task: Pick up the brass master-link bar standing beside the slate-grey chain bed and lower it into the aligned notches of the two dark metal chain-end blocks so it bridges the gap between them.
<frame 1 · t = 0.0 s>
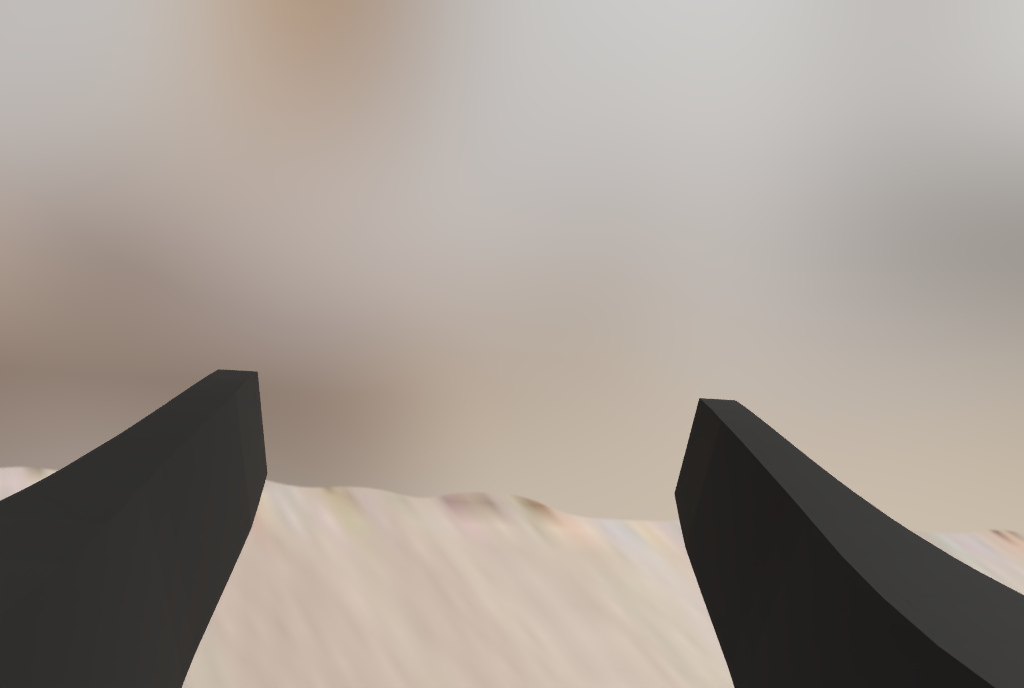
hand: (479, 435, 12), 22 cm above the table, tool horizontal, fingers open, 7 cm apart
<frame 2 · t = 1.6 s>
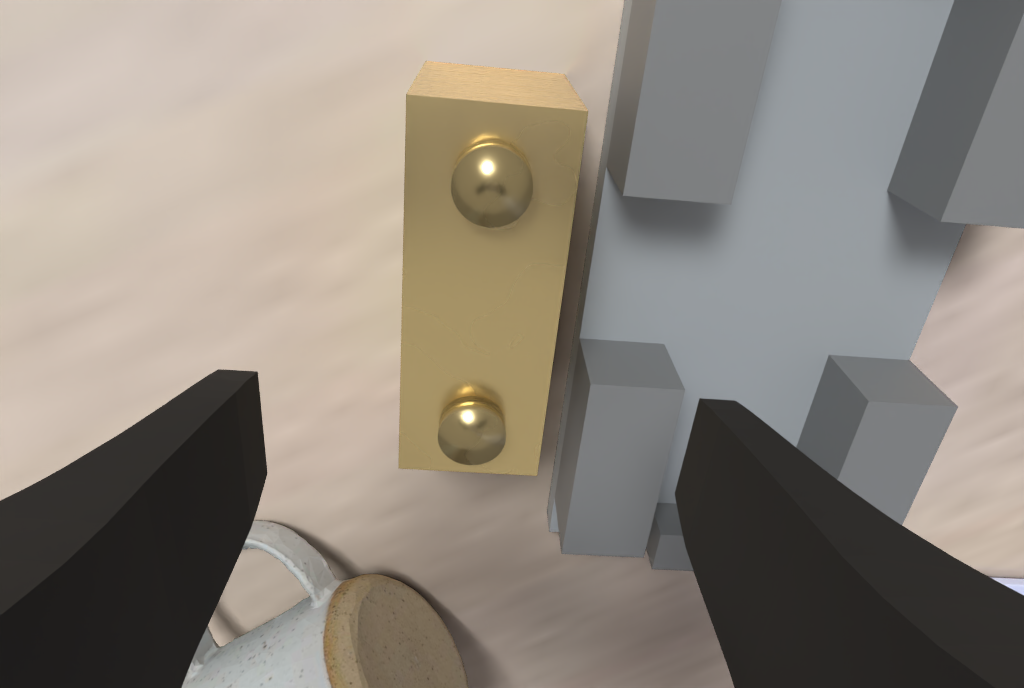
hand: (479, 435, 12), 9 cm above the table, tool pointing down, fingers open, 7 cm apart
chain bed: (757, 257, 20), on the table
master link: (482, 234, 20), on the table
ceramic mug: (315, 605, 27), on the table
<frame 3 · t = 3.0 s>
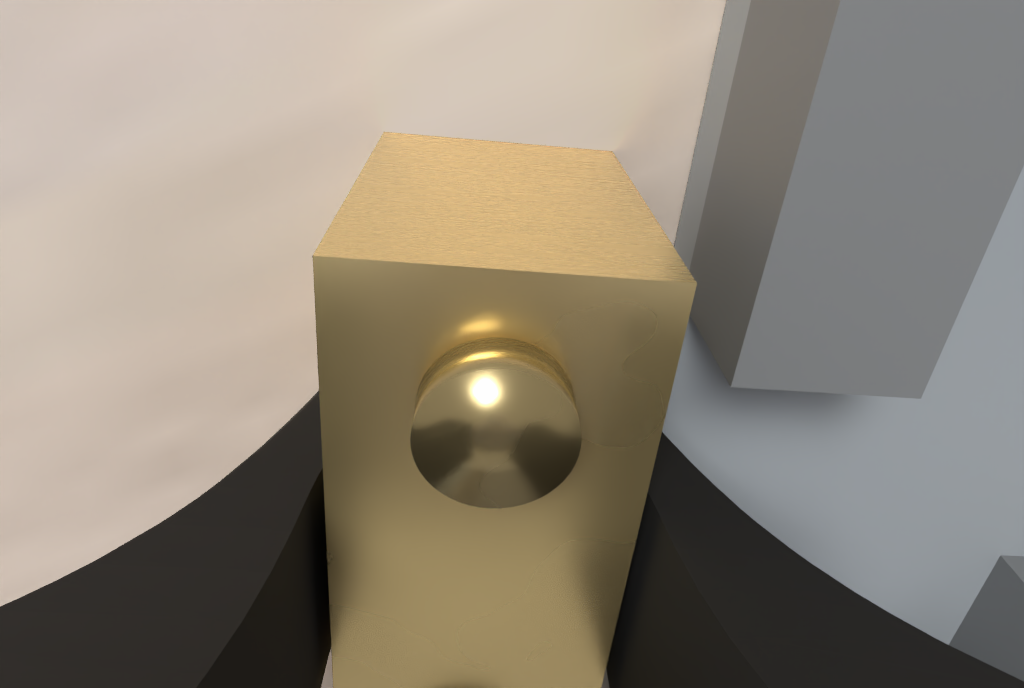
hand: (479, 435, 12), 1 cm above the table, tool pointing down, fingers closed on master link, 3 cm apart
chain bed: (898, 415, 13), on the table
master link: (479, 389, 13), on the table, touching gripper
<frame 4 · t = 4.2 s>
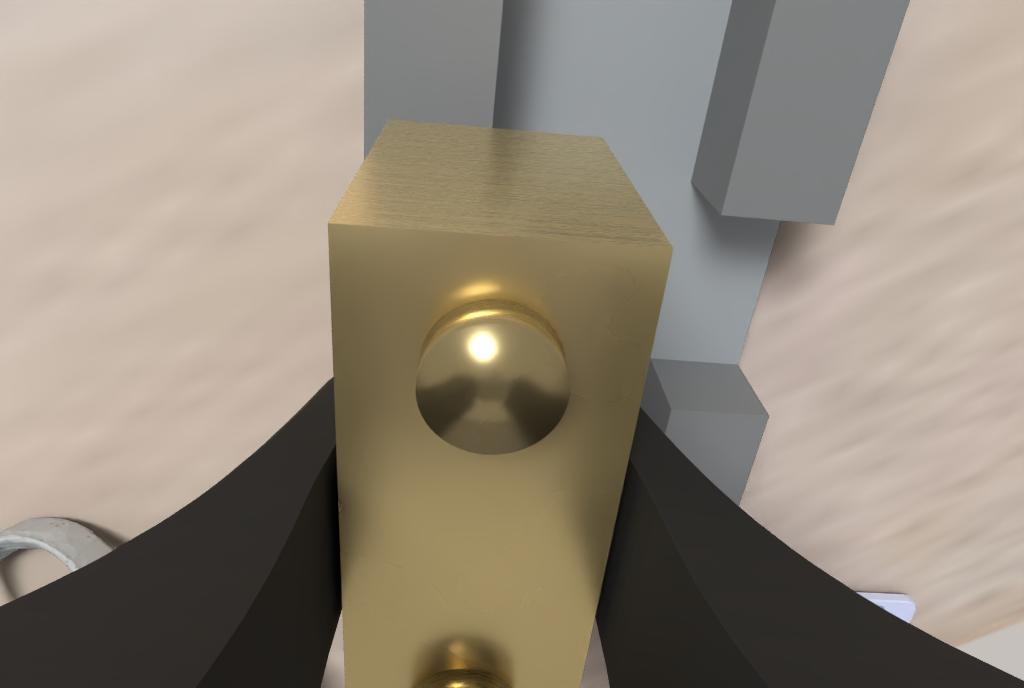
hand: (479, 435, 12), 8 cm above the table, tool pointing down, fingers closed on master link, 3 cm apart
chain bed: (570, 253, 19), on the table
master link: (478, 365, 14), point 6 cm above the table, touching gripper
ceramic mug: (134, 608, 25), on the table
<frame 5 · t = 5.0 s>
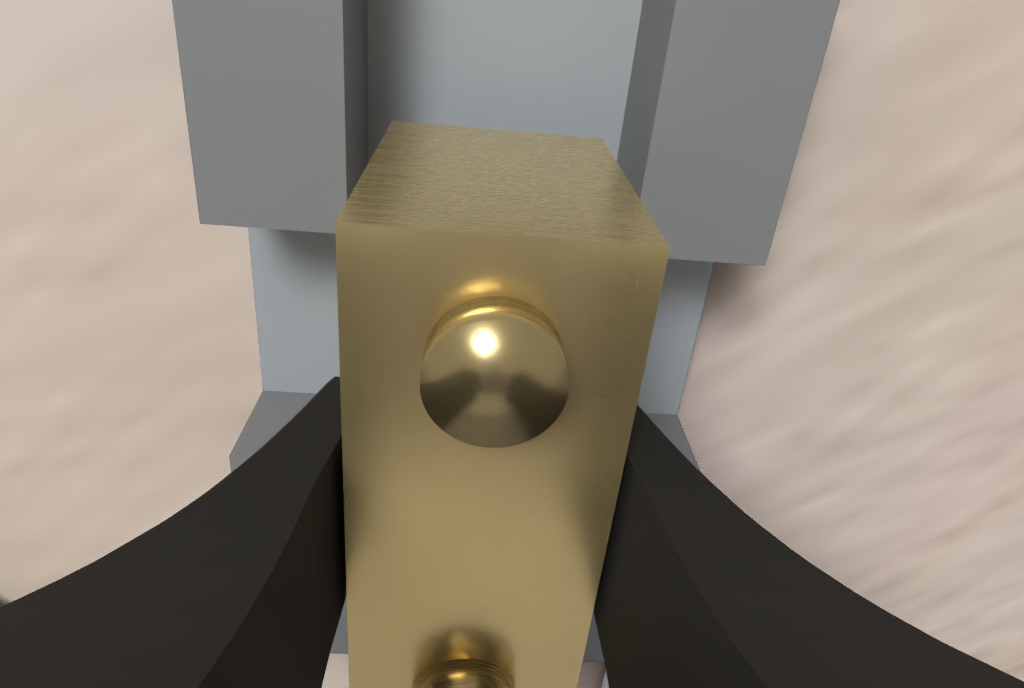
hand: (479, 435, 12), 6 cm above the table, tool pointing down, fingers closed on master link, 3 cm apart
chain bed: (481, 291, 17), on the table
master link: (479, 362, 14), point 3 cm above the table, touching gripper
when the fingers open (4 cm above the table, at t = 5.7 s): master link stays where it is, resting on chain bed.
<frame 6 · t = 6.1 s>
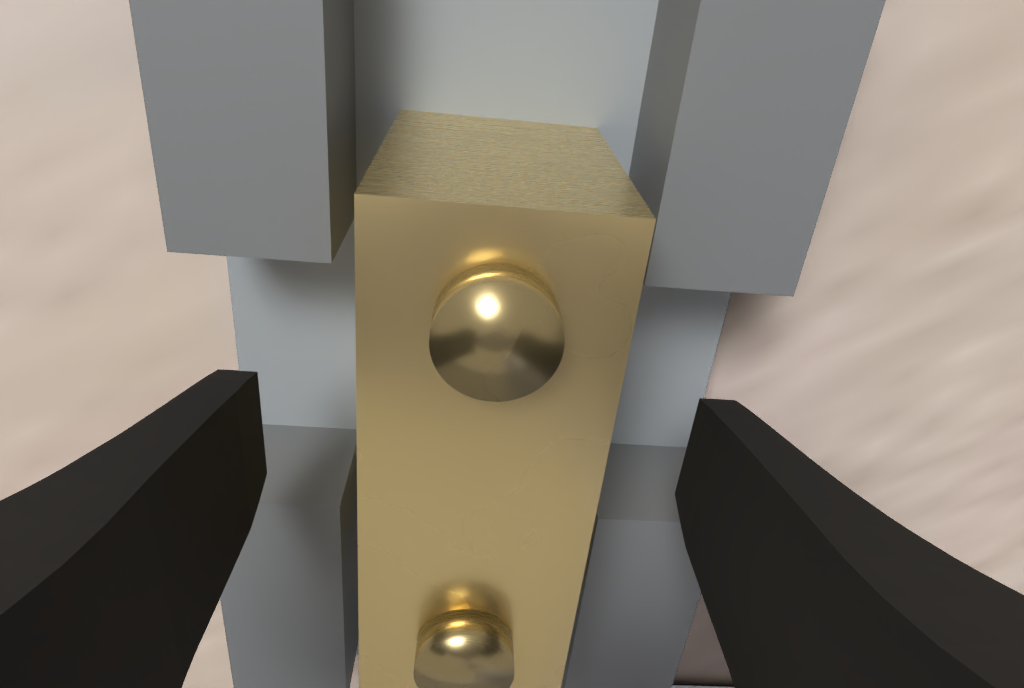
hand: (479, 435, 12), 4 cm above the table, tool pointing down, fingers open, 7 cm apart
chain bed: (480, 316, 16), on the table
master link: (480, 340, 15), point 1 cm above the table, touching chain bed
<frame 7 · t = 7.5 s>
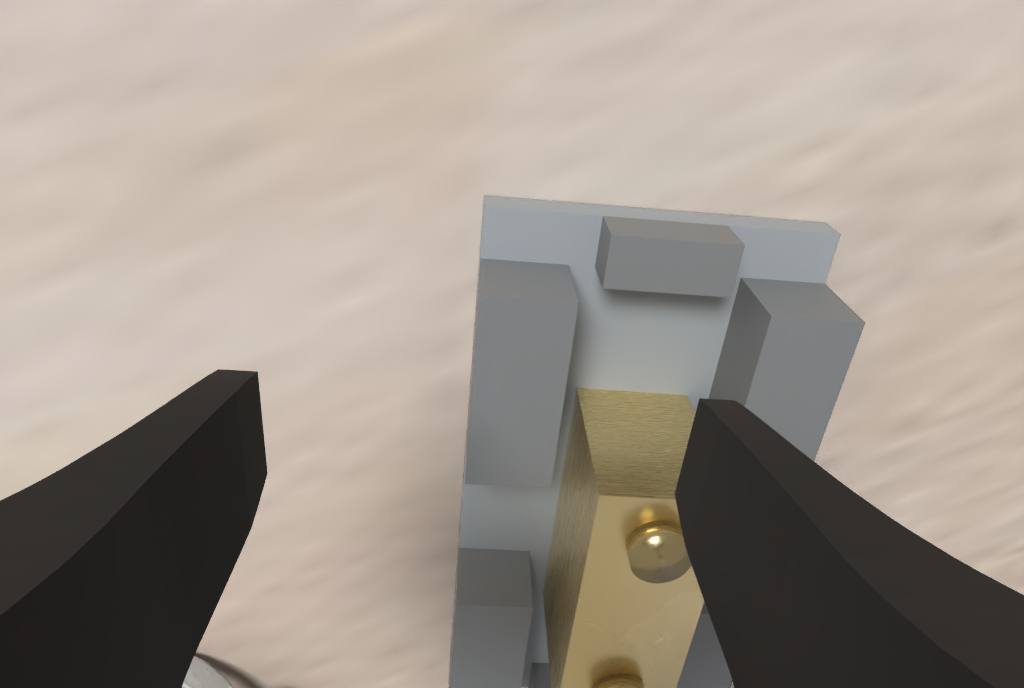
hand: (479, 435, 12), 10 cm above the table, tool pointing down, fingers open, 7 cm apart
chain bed: (604, 481, 25), on the table
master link: (608, 501, 24), point 1 cm above the table, touching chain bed
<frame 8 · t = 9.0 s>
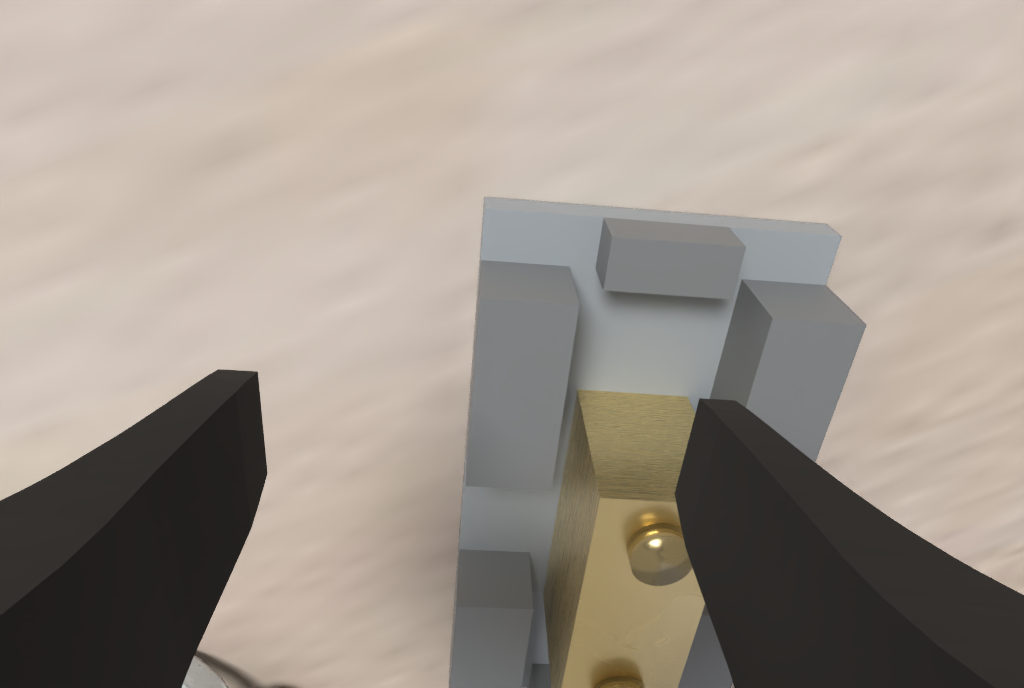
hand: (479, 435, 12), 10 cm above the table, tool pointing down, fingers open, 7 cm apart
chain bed: (604, 482, 25), on the table
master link: (609, 503, 24), point 1 cm above the table, touching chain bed
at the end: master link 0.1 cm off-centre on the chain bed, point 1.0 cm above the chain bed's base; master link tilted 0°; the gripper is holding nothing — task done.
